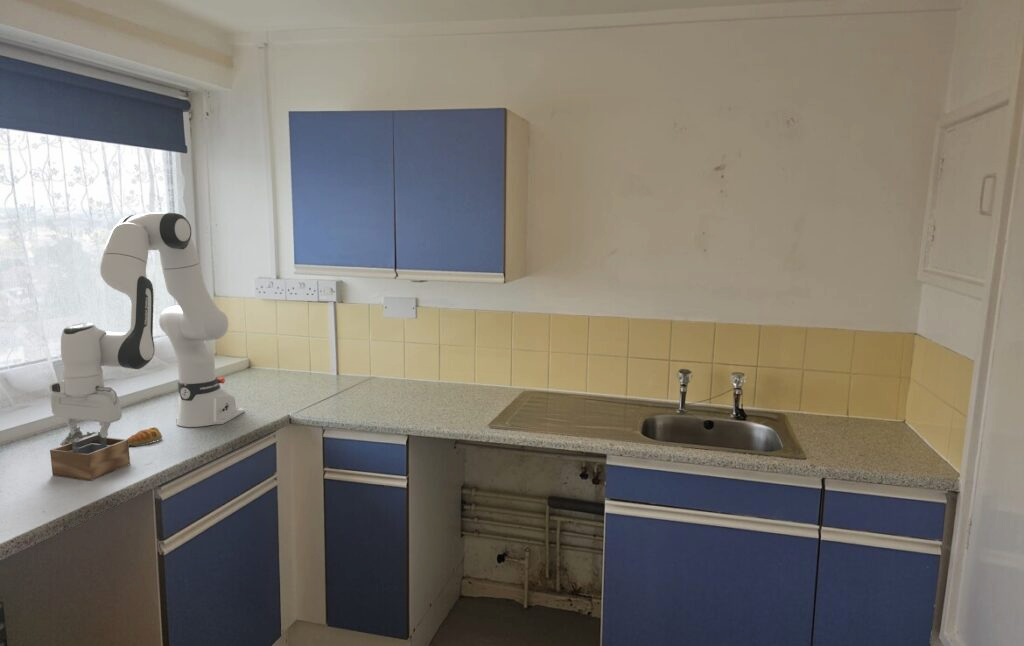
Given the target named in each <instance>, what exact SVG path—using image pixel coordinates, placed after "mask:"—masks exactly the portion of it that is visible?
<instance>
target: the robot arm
mask: <svg viewBox="0 0 1024 646" xmlns="http://www.w3.org/2000/svg"><path fill="white" fill-rule="evenodd" d="M149 251H158V253H159V259H160V260H159V261H160V265H161V270H162V274H163V279H164V284H165V287H166V290H167V292H168V294H169V295H170V296H171V297H172V298H173V299H174V300H175V301H176V303H178V305H172V306H169V307H166V308H165V309H163V311H162V312H161V314H159V319H158V322H159V327H160V329H161V330H162V332H164V334H165V335H166V336H167V337H168V339H169V341H170V343H171V346H172V348H173V351H174V354H175V356H176V362H177V370H178V371H177V372H178V382H177V392H178V393H179V395H178V399H177V400H178V403H177V415H176V416H175V420H176V425H177V426H179V427H185V428H198V427H206V426H207V427H208V426H212V425H223V424H225V423H227V422H229V421H230V420H232V419H235V418H236V417H238V416H240V415H241V414H242V413H244V412H245V410H244V408H241V407H237V402H236V398H235V396H234V395H233V394H231V393H229V392H228V391H226V390H224V389H223V388H221V385H223V384H225V383H226V379H225V377H216V365H215V364H216V362H215V356H214V354H213V353H212V351H210V349H209V348H208V346H207V345H206V342H207V341H214V340H218V339H221V338H223V337H224V336H225V335H226V334H227V332H228V330H229V318H228V317H227V315H226V314H225V312H224V311H222V310H221V309H220V308H219V307H218V306H217V305H216V303H215V302H214V301H213V298H212V297H211V295H210V293H209V291H208V289H207V287H206V284H205V279H204V277H203V272H202V267H201V263H200V259H199V256H198V252H197V249H196V246H195V244H194V241H193V238H192V227H191V224H190V221H189V220H188V219H187V218H186V217H185V216H184V215H183V214H180V213H177V212H148V213H141V214H131V215H127V216H124V217H122V218H121V219H120V220H119V221H118V222H117V223H116V225H115V226H114V227H113V228H112V229H111V232H110V234H109V237H108V239H107V241H106V244H105V247H104V250H103V255H102V258H101V261H100V262H101V263H100V269H99V270H100V276H101V279H102V280H103V282H104V283H106V285H108V286H109V287H110V288H112V289H114V290H116V291H118V292H120V293H122V294H124V295H126V296H127V297H128V298H129V299H130V301H131V302H130V303H131V311H130V329H129V330H128V331H126V332H125V331H124V332H123V331H122V332H120V331H107V330H103V329H100V328H98V327H97V326H96V324H94V323H91V322H80V323H74V324H70V325H68V326H67V327H65V328H64V329H63V330H62V332H61V336H60V356H61V362H62V364H63V368H64V371H63V379H62V380H59V381H57V382H53V383H51V384H49V391H50V392H51V394H50V407H51V412H52V414H53V416H54V417H55V418H59V419H61V418H62V419H64V420H65V424H66V425H67V427H68V429H69V433H71V434H79V433H80V431H81V427H80V426H78V424H77V422H76V420H79V421H88V422H89V421H90V422H98V423H99V426H101V427H100V430H98V431H97V433H98V437H101V438H104V437H109V433H108V432H109V428H110V426H111V424H112V423H115V422H119V421H120V420H121V418H122V416H123V415H122V412H123V411H122V406H121V403H120V400H119V396H118V393H117V391H115V390H114V389H113V387H107V386H106V387H105V384H104V383H105V382H104V372H103V368H102V367H108V368H109V367H110V368H125V369H133V370H141V369H143V368H144V367H145V366H147V365H148V364H149V363H150V362H151V360H152V359H153V358H154V355H155V341H154V334H153V333H154V332H153V331H154V297H155V295H154V286H153V282H152V281H151V280H150V279H149V278H148V277H147V264H148V259H149ZM220 384H221V385H220Z"/></svg>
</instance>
